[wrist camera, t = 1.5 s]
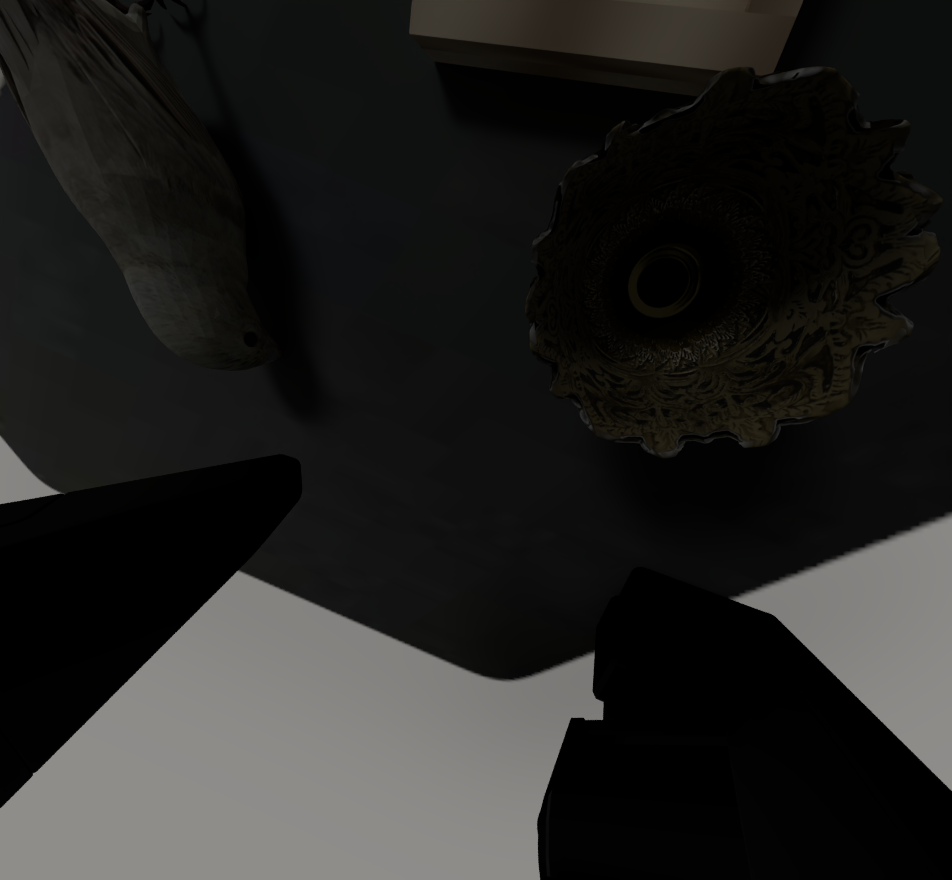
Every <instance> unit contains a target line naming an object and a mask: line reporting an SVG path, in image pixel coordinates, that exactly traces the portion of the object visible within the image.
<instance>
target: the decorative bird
mask: <svg viewBox="0 0 952 880" xmlns="http://www.w3.org/2000/svg"><path fill="white" fill-rule="evenodd" d="M156 1H157V2H158V3H159V4H160V6H161V7H163V8H164V9H166V10H167V8H166V6H165V4H164V2H163V0H156ZM172 1H174V2H176V3H177V4H179V5H181V6H183V7H186V6H187V5H185V4H184V3H183V2H181V1H180V0H172ZM153 2H154V0H140V1H137V2H135V4H132V5H131V6H130V8H129V7H127V6H124V5H123V4H122V3H120V2H119V1H118V0H0V68H1V70H2V73H3V75H4V78H5V81H6V83H7V85H8V87H9V89H10V91H11V93H12V95H13V97H14V99H15V102H16V104H17V106H18V108H19V110H20V111H21V113H22V115H23V117H24V118H25V120H26V122H27V124H28V125H29V127H30V129H31V131H32V132H33V134H34V136H35V138H36V140H37V142H38V144H39V146H40V148H41V149H42V151H43V153H44V155H45V157H46V159H47V161H48V163H49V165H50V166H51V168H52V170H53V172H54V174H55V176H56V177H57V179H58V180H59V182H60V184H61V185H62V187H63V189H64V190H65V192H66V193H67V195H68V196H69V198H70V199H71V200H72V202H73V203H74V205H75V206H76V208H77V209H78V210H79V212H80V213H81V214H82V215H83V216H84V217H85V219H86V220H87V221H88V222H89V223H90V225H91V226H92V227H93V228H94V230H95V231H96V232H97V233H98V235H99V236H100V237H101V238H102V240H103V241H104V242H105V244H106V246H107V247H108V249H109V251H110V252H111V254H112V256H113V257H114V259H115V260H116V262H117V264H118V265H119V267H120V269H121V270H122V272H123V274H124V276H125V279H126V281H127V284H128V286H129V289H130V291H131V294H132V296H133V298H134V300H135V302H136V304H137V306H138V308H139V310H140V312H141V314H142V316H143V317H144V319H145V321H146V322H147V324H148V325H149V327H150V329H151V330H152V331H153V332H154V334H155V335H156V336H157V337H158V339H159V340H160V341H161V342H162V343H163V344H164V345H166V346H167V347H168V348H169V349H170V350H172V351H173V352H174V353H175V354H177V355H179V356H180V357H182V358H184V359H186V360H188V361H190V362H192V363H194V364H197V365H200V366H203V367H206V368H212V369H220V370H229V371H234V370H246V369H250V368H253V367H257V366H260V365H263V364H267V363H270V362H272V361H275V360H277V359H278V358H279V357H280V356H281V355H282V354H283V352H282V350H281V348H280V347H279V345H278V344H277V342H276V341H275V339H274V338H273V337H272V336H271V335H270V333H269V332H268V331H266V330H265V329H264V327H263V326H262V323H261V321H260V319H259V317H258V315H257V313H256V311H255V309H254V307H253V305H252V303H251V301H250V298H249V296H248V293H247V291H246V290H247V284H248V282H249V280H248V265H247V259H246V231H245V227H246V214H245V208H244V203H243V197H242V193H241V191H240V188H239V186H238V184H237V182H236V180H235V178H234V176H233V173H232V171H231V169H230V167H229V166H228V164H227V163H226V161H225V159H224V158H223V156H222V154H221V153H220V151H219V150H218V148H217V146H216V145H215V143H214V141H213V140H212V138H211V136H210V135H209V133H208V132H207V130H206V128H205V127H204V125H203V123H202V122H201V121H200V119H199V118H198V117H197V115H196V114H195V113H194V111H193V110H192V109H191V107H190V106H189V105H188V103H187V102H186V100H185V99H184V97H183V95H182V93H181V92H180V90H179V88H178V86H177V84H176V83H175V81H174V79H173V78H172V76H171V74H170V73H169V72H168V71H167V69H166V68H165V67H164V66H163V64H162V63H161V62H160V60H159V58H158V56H157V54H156V51H155V49H154V47H153V44H152V41H151V38H150V34H149V29H148V22H147V16H148V15H150V14H152V13H146V11H147V10H151V7H152V5H153Z"/></svg>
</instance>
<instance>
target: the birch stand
mask: <svg viewBox="0 0 952 880" xmlns="http://www.w3.org/2000/svg"><path fill="white" fill-rule="evenodd" d="M802 3H803V0H412V8H411V20H410V31H409V34H410V35H411V36H412V37H413V39H414V40H415V41H416V42H417V43H418V44H419V45H420V46H421V48H422V49H423V50H424V51H425V52H426V53H427V54H428V55H429V56H430V58H431V59H432V60H433V61H434V62H441V63H449V64H456V65H464V66H471V67H479V68H487V69H494V70H502V71H509V72H517V73H524V74H532V75H539V76H547V77H555V78H562V79H570V80H577V81H585V82H592V83H600V84H607V85H615V86H623V87H630V88H638V89H645V90H653V91H660V92H668V93H675V94H683V95H691V96H698V95H699V94H700V93H701V92H702V91H703V90H704V89H705V87H706V83H707V81H708V80H710V79H711V78H712V77H714V76H715V75H717V74H718V73H720V72H722V71H724V70H726V69H729V68H734V67H753V68H754V70H755V72H756V73H755V74H756V76H755V77H759V76H762V75H766V74H771V73H773V72H774V70H775V67H776V65H777V63H778V60H779V58H780V55H781V53H782V51H783V48H784V46H785V43H786V41H787V39H788V36H789V34H790V31H791V29H792V27H793V24H794V22H795V19H796V17H797V15H798V12H799V10H800V7H801V5H802Z"/></svg>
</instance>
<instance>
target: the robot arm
mask: <svg viewBox="0 0 952 880" xmlns="http://www.w3.org/2000/svg"><path fill="white" fill-rule="evenodd" d="M301 494H302V478H301V465H300V462H299V461H298V460H297V459H295V458H292V457H289V456H286V455H283V454H278V455H273V456H267V457H262V458H256V459H250V460H245V461H239V462H234V463H228V464H223V465H217V466H212V467H206V468H201V469H195V470H190V471H184V472H178V473H173V474H167V475H162V476H156V477H151V478H145V479H140V480H134V481H129V482H123V483H118V484H112V485H106V486H101V487H95V488H90V489H84V490H79V491H73V492H68V493H66V494H65V495H64V494H57V495H51V496H45V497H40V498H35V499H29V500H22V501H17V502H11V503H5V504H0V808H1V807H2V806H3V805H4V804H5V803H6V802H7V801H8V800H9V799H10V798H11V797H12V796H13V795H14V794H15V793H16V792H17V791H18V790H19V789H20V788H21V787H22V786H23V785H24V784H25V783H26V782H27V781H28V780H29V779H30V778H31V777H32V776H33V773H35V772H37V771H38V770H39V769H40V768H41V767H42V765H44V764H45V763H46V762H47V761H48V760H49V759H50V758H51V757H52V755H54V754H55V753H56V752H57V751H58V750H59V749H60V748H61V747H62V746H63V745H64V744H65V743H66V742H67V741H68V740H69V739H70V738H71V737H72V736H73V735H74V734H75V733H76V731H78V730H79V729H80V728H81V727H82V726H83V725H84V724H85V723H86V722H87V721H88V720H89V719H90V718H91V717H92V716H93V715H94V714H95V713H96V711H98V710H99V709H100V708H101V707H102V706H103V705H104V704H105V703H106V702H107V701H108V700H109V699H110V698H111V696H113V694H115V693H116V692H117V691H118V690H119V689H120V688H121V687H122V686H123V685H124V684H125V683H126V682H127V681H128V680H129V679H130V678H131V677H132V676H133V675H134V674H135V673H136V672H137V671H138V670H139V669H140V668H141V667H142V666H143V665H144V664H145V663H146V662H147V661H148V660H149V659H150V658H151V657H152V656H153V655H154V654H155V653H156V652H157V651H158V650H159V649H160V648H161V647H162V646H163V645H164V644H165V643H166V642H167V641H168V640H169V639H170V638H171V637H172V636H173V635H174V634H175V632H177V631H178V630H179V629H180V628H181V627H182V626H183V625H184V624H185V623H186V622H187V621H188V620H189V619H190V618H191V617H192V616H193V615H194V614H195V613H196V612H197V611H198V610H199V609H200V608H201V607H202V606H203V605H204V604H205V603H206V602H207V601H208V600H209V599H210V598H211V597H212V596H213V595H214V594H215V593H216V592H217V591H218V590H219V589H220V588H221V587H222V586H223V585H224V584H225V583H226V582H227V581H228V580H229V579H230V578H231V577H232V576H233V575H234V574H235V573H236V572H237V571H238V570H239V569H240V568H241V567H242V566H243V565H244V564H245V563H246V562H247V561H248V560H249V559H250V558H251V557H252V556H253V555H254V553H255V552H256V551H257V550H258V549H259V548H260V547H261V545H262V544H263V543H264V542H265V541H266V539H267V538H268V537H269V536H270V535H271V533H272V532H273V531H274V530H275V529H276V527H277V526H278V525H279V524H280V523H281V521H282V520H283V519H284V518H285V517H286V515H287V514H288V513H289V512H290V510H291V509H292V508H293V507H294V506H295V504H296V503H297V502H298V501H299V499H300V497H301ZM640 576H642V577H645V579H639V578H638V577H640ZM593 677H594V678H593V693H594V696H595V698H596V699H598V700H600V701H603V702H604V708H603V720H585V719H584V718H571V720H570V723H569V726H568V728H567V731H566V734H565V737H564V740H563V743H562V746H561V749H560V752H559V755H558V758H557V761H556V763H555V766H554V769H553V772H552V775H551V778H550V781H549V784H548V787H547V790H546V793H545V796H544V799H543V803H542V807H541V811H540V813H539V817H538V821H537V830H538V861H539V862H538V863H539V872H540V880H952V791H951V790H950V789H949V788H948V787H947V786H946V785H945V784H944V783H943V782H942V781H941V780H940V779H939V778H938V777H937V776H936V775H935V774H934V773H933V772H932V771H931V770H930V769H929V768H928V767H927V766H926V765H925V764H924V763H923V762H922V761H920V759H918V757H917V756H916V755H915V754H914V753H913V752H911V750H910V749H908V747H907V746H905V745H904V744H903V743H902V742H901V741H900V740H899V739H898V738H897V737H896V736H895V735H894V734H893V733H892V732H891V731H890V730H889V729H888V728H887V727H886V726H885V725H884V724H883V723H882V722H881V721H880V720H879V719H878V718H877V717H876V716H875V715H874V714H873V713H872V712H871V711H870V710H869V709H868V708H867V707H866V706H865V705H864V704H863V703H862V702H861V701H860V700H859V699H858V698H857V697H856V696H855V695H854V694H853V693H852V692H851V691H850V690H849V689H848V688H847V687H846V686H845V685H844V684H843V683H842V682H841V681H840V680H839V679H838V678H837V677H836V676H835V675H834V674H833V673H832V672H831V671H830V670H829V669H828V668H827V667H826V666H825V665H824V664H823V663H822V662H821V661H819V659H817V657H815V655H814V654H813V653H812V652H811V651H809V650H808V649H807V647H805V645H803V644H802V643H801V642H800V641H799V640H798V639H797V638H796V637H795V636H794V635H793V634H792V633H791V632H790V631H789V630H788V629H787V628H786V627H785V626H784V625H783V624H782V623H781V622H780V621H779V620H778V619H777V618H776V617H775V616H773V615H772V614H769V613H767V612H763V611H760V610H758V609H755V608H752V607H749V606H747V605H744V604H741V603H739V602H736V601H733V600H731V599H728V598H725V597H723V596H720V595H717V594H714V593H712V592H709V591H706V590H704V589H701V588H698V587H696V586H693V585H690V584H687V583H685V582H682V581H679V580H677V579H674V578H671V577H669V576H666V575H663V574H660V573H658V572H655V571H652V570H650V569H647V568H643V567H637V568H635V569H633V570H632V572H631V574H630V576H629V577H628V579H627V581H626V583H625V585H624V587H623V589H622V591H621V593H620V595H619V596H614V597H612V598H611V600H610V601H609V603H608V605H607V607H606V609H605V611H604V613H603V615H602V617H601V619H600V621H599V623H598V625H597V627H596V642H595V659H594V676H593Z"/></svg>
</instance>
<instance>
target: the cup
mask: <svg viewBox="0 0 952 880" xmlns="http://www.w3.org/2000/svg"><path fill="white" fill-rule="evenodd" d="M755 73H756V72H755V70H754V68H753V67H734V68H729V69H726V70H724V71H722V72H720V73H718V74H717V75H715V76H714V77H712V78H711V79H710V80H708V81H707V83H706V87H705V89H704V90H703V91H702V92H701V93H700V94H699V95H698V97H697V98H696V99H695V100H694V101H692V102H690V103H688V104H685V105H682V106H680V107H678V108H671V109H669V108H666V109H663V110H662V111H660V112H659V113H657V114H656V115H655V116H654V117H653V118H651V120H649V121H647V122H645V123H644V124H642V125H638V124H633V125H631V124H630V122H629V121H623V122H621V123H620V124H618V125H617V126H615V127H614V128H613V129H612V130H611V131H610V132H609V134H608V135H607V136H606V138H605V140H604V143H603V145H602V148H601V150H599V151H597V152H595V153H593V154H590V155H588V156H587V157H585V158H583V159H581V160H578V161H577V162H576V163H574V164H573V165H572V166H571V167H570V169H569V170H568V171H567V173H566V174H565V176H564V177H563V179H562V181H561V183H560V184H559V187H558V189H557V193H556V197H555V200H554V206H553V213H552V217H551V221H550V223H549V226H548V229H547V230H546V231H545V232H542V233H540V234H539V235H538V237H537V238H535V239H534V241H533V244H532V251H531V254H532V263H533V264H535V266H536V269H537V270H538V274H537V276H536V277H534V279H533V280H532V281H531V283H530V291H529V294H528V296H527V299H526V304H525V312H526V316H527V318H528V319H529V320H530V325H532V327H531V329H530V348H531V351H532V353H533V355H534V356H535V357H536V358H537V359H538V360H539V361H540V362H542V363H544V364H546V365H550V366H551V368H552V371H551V372H552V376H551V380H550V385H549V389H550V391H551V393H552V394H553V395H554V396H555V397H557V398H558V399H564V398H566V399H571V400H572V402H573V403H574V404H575V406H576V407H577V409H578V411H579V414H580V417H581V418H582V420H583V421H584V423H585V424H586V425H587V427H588V428H589V429H590V430H591V431H592V432H593V433H594V434H595V435H596V436H597V437H599V438H601V439H604V440H607V441H612V442H619V443H632V442H633V443H640V444H641V447H642V448H643V449H644V450H645V451H646V452H648V453H650V454H652V455H654V456H657V457H659V458H672V457H675V456H676V455H677V454H678V452H679V451H681V450H682V448H683V447H684V446H683V444H685V441H697V442H701V443H710V442H711V441H713V440H714V439H716V438H723V437H731V438H733V439H735V440H737V441H738V442H740V443H739V444H741V445H742V447H744V448H752V447H760V446H766V445H769V444H771V443H772V442H773V441H775V440H776V438H777V437H778V435H779V432H780V429H781V426H784V425H789V424H802V423H807V422H811V421H814V420H817V419H819V418H822V417H824V416H827V415H829V414H831V413H833V412H835V411H837V410H839V409H840V408H843V407H845V406H847V405H848V404H849V403H850V402H851V401H852V399H853V398H854V396H855V394H856V392H857V390H858V387H859V384H860V381H861V378H862V375H863V366H864V362H865V360H866V358H867V355H868V352H870V351H871V350H870V349H873V348H878V347H879V348H882V349H884V348H887V347H889V346H891V345H893V344H898V343H899V342H900V341H902V340H903V339H904V338H906V337H908V336H910V335H911V333H912V330H913V326H914V324H913V323H912V322H911V321H910V320H909V319H907V318H906V317H905V316H904V315H902V314H901V313H900V311H899V310H897V309H895V308H894V307H893V306H892V305H891V303H889V302H888V299H889V297H891V296H894V295H896V294H899V293H902V292H904V291H906V290H908V289H910V288H912V287H913V286H915V285H917V284H919V283H921V282H923V281H924V280H926V278H927V277H928V276H929V275H930V273H931V272H932V271H933V269H934V268H935V266H936V264H937V262H938V260H939V255H940V247H939V246H938V242H937V238H936V235H935V233H932V232H927V231H923V228H925V227H926V226H928V225H929V224H931V222H930V220H929V219H930V218H931V217H932V215H933V214H934V213H935V212H936V211H937V210H938V209H939V208H940V206H941V204H942V203H943V199H942V198H941V197H940V196H939V195H938V194H936V193H935V192H934V191H932V190H931V189H929V188H928V187H926V186H924V185H922V184H920V183H918V182H916V181H914V179H913V177H912V174H911V172H907V171H892V170H891V169H890V165H891V164H892V163H893V162H894V161H895V159H896V157H897V156H898V155H899V154H900V153H901V152H902V151H903V150H904V145H905V141H906V139H907V137H908V135H909V132H910V122H908V121H906V120H900V119H896V120H895V119H891V120H880V121H875V122H872V121H866V119H865V118H864V117H863V116H862V114H861V113H860V111H859V109H858V105H857V102H858V100H859V93H858V92H857V91H856V90H855V89H854V88H853V87H852V86H851V85H850V84H849V82H848V81H847V80H846V79H845V78H844V77H843V76H842V75H840V74H839V72H838V71H837V70H836V69H834V68H830V67H822V66H814V67H807V68H801V69H796V70H792V71H787V72H781V71H777V72H774V73H771V74H766V75H762V76H759V77H755V76H756V74H755ZM664 259H670V260H674V261H676V262H678V263H679V264H681V265H682V267H683V268H684V270H685V272H686V285H685V288H684V290H683V292H682V293H681V295H680V296H679V297H678V298H677V299H676V300H674V301H673V302H671V303H669V304H666V305H653V304H650V303H648V302H647V301H645V300H644V298H643V297H642V295H641V293H640V289H639V283H640V279H641V276H642V274H643V272H644V271H645V270H646V269H647V268H648V267H649V266H650V265H651V264H653V263H654V262H656V261H659V260H664ZM868 350H869V351H868ZM879 350H881V349H879ZM879 350H877V351H879ZM867 351H868V352H867ZM877 351H875V352H877ZM680 443H681V444H680ZM679 444H680V445H679ZM678 446H679V447H678ZM677 448H678V449H677Z"/></svg>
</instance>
